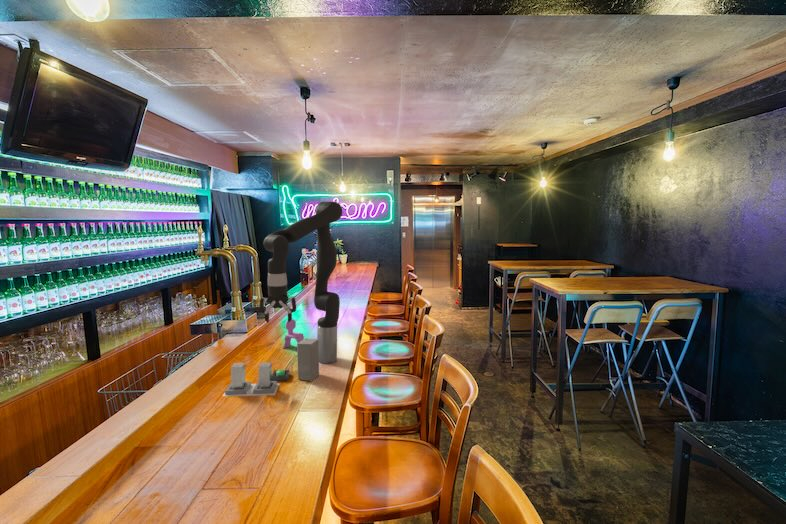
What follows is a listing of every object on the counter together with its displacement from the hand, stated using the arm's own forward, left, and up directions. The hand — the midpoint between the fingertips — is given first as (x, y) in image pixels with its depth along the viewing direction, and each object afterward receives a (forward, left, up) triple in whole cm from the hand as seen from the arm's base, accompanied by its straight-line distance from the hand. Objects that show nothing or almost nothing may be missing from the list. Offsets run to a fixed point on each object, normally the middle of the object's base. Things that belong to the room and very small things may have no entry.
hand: (278, 321), depth 151 cm
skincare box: (-12, -1, -25) cm, 27 cm away
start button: (-1, +2, -23) cm, 24 cm away
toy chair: (-1, -36, -25) cm, 43 cm away
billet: (+3, +12, -23) cm, 27 cm away
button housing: (-1, +2, -24) cm, 25 cm away
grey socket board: (+8, +12, -24) cm, 28 cm away
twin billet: (+13, +12, -23) cm, 29 cm away
